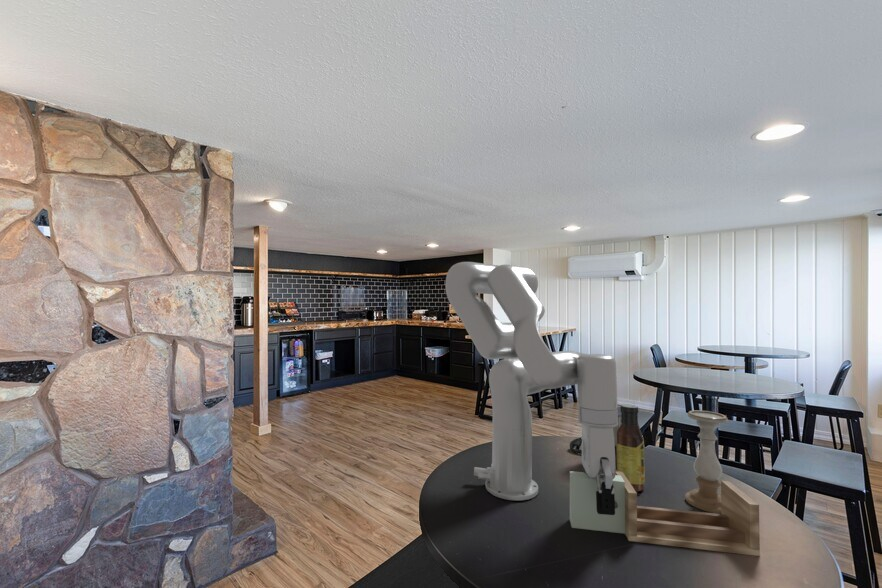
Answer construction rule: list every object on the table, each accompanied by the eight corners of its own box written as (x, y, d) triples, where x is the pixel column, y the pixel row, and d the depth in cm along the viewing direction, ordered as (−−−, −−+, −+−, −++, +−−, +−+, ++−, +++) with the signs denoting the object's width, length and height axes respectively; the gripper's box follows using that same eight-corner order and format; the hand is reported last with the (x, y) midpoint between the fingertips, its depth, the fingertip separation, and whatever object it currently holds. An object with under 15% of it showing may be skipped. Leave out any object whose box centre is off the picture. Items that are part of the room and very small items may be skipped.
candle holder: (707, 493, 94) (706, 408, 95) (742, 512, 86) (741, 418, 86) (676, 497, 92) (675, 410, 93) (709, 516, 84) (708, 420, 84)
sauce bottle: (648, 494, 93) (647, 410, 94) (620, 491, 95) (620, 408, 96) (640, 482, 100) (639, 403, 101) (614, 480, 101) (613, 402, 102)
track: (628, 540, 74) (628, 492, 75) (615, 513, 84) (615, 471, 84) (759, 556, 70) (759, 504, 71) (729, 525, 80) (729, 481, 80)
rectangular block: (572, 529, 78) (572, 478, 78) (569, 519, 81) (569, 471, 82) (625, 535, 76) (625, 483, 77) (620, 525, 80) (620, 475, 80)
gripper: (572, 405, 89) (574, 482, 88) (586, 426, 72) (588, 522, 71) (607, 406, 88) (609, 485, 87) (629, 428, 71) (633, 526, 70)
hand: (600, 501), depth 79 cm, fingers open, 9 cm apart
